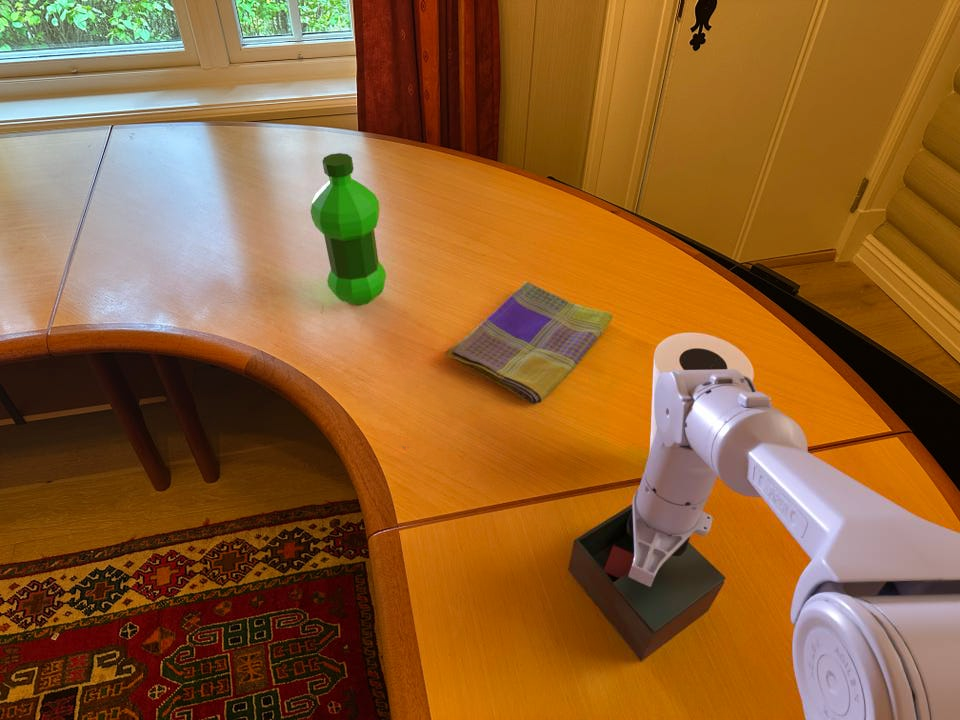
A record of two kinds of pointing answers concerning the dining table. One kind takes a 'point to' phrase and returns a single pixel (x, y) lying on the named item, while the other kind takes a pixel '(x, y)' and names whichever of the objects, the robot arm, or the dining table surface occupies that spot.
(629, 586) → the carton flap
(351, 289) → the plastic bottle
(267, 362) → the dining table surface
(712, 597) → the carton
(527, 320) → the dish towel
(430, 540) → the dining table surface
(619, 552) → the red rectangular block
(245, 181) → the dining table surface
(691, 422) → the robot arm
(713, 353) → the white paper towel roll
